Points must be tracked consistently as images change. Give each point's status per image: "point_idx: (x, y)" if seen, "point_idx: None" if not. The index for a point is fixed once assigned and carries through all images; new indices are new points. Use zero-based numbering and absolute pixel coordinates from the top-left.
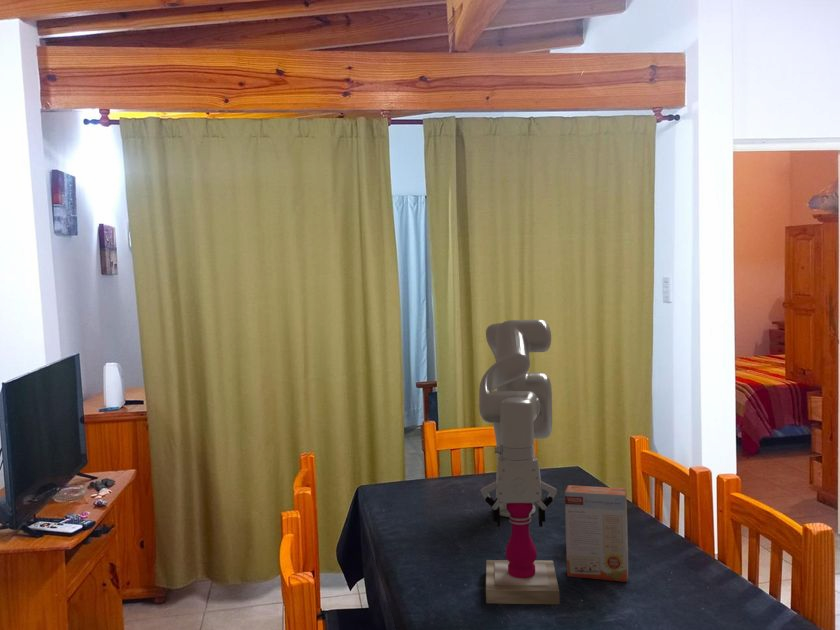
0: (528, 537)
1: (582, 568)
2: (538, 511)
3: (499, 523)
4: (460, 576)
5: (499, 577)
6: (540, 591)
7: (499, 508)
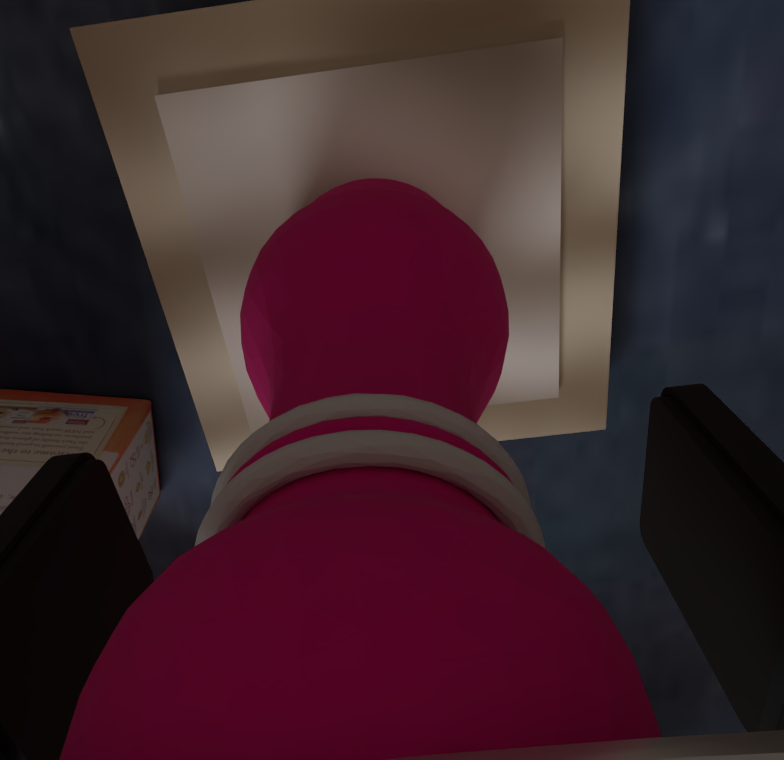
0: (277, 362)
1: (40, 419)
2: (72, 691)
3: (681, 411)
4: (736, 324)
5: (527, 173)
6: (208, 9)
7: (780, 660)
